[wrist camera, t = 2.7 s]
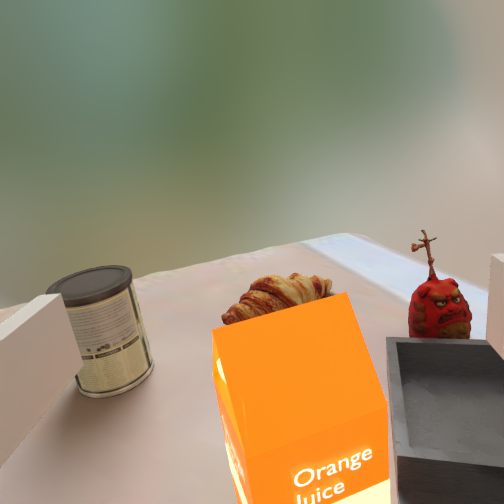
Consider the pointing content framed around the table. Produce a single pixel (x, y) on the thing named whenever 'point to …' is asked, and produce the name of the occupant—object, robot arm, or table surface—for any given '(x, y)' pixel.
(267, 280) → the croissant
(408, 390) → the tray
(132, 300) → the coffee can
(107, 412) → the table surface
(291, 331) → the orange juice
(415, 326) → the red clay folk toy
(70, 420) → the table surface
